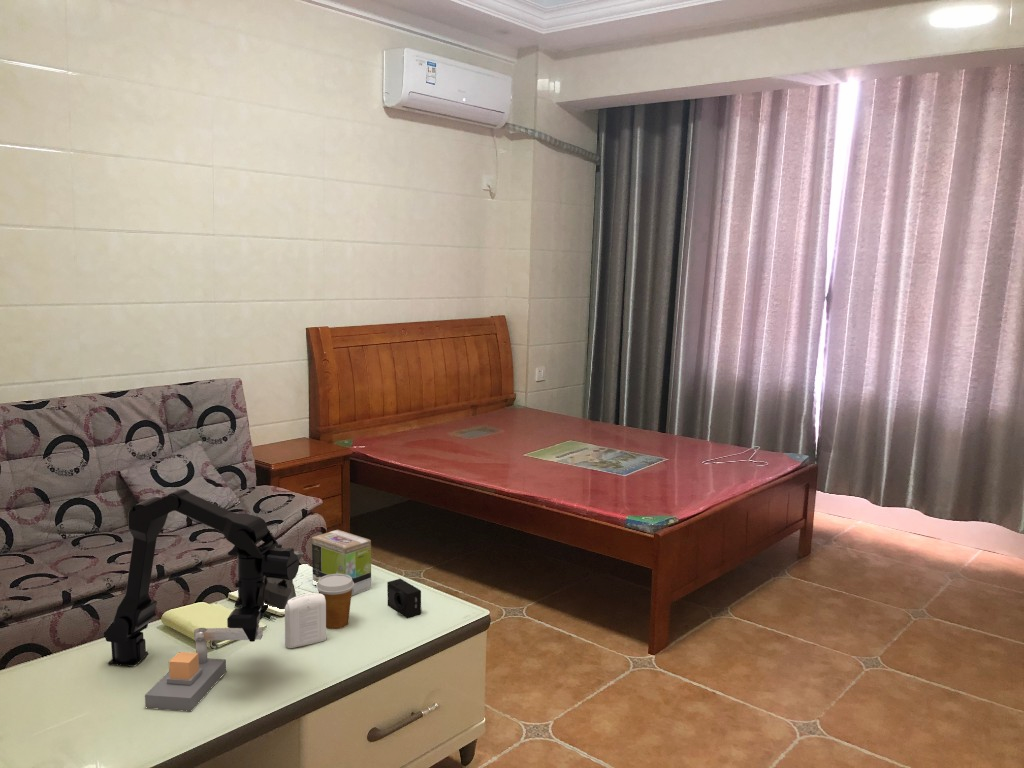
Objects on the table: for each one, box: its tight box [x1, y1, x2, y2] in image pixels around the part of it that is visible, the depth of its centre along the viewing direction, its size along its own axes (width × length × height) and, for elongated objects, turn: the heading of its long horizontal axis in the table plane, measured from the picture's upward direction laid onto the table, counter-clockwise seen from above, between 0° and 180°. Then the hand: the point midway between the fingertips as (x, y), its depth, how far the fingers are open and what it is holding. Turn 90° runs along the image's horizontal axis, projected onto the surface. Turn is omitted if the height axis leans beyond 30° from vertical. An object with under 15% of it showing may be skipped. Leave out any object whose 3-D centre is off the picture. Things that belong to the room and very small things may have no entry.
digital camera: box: [386, 578, 422, 619], centre depth 225 cm, size 10×5×7 cm, turn 39°
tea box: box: [311, 529, 372, 597], centre depth 240 cm, size 15×10×15 cm
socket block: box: [144, 640, 227, 712], centre depth 183 cm, size 10×17×8 cm, turn 174°
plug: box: [167, 651, 203, 685], centre depth 182 cm, size 5×5×8 cm
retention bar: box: [193, 626, 264, 642], centre depth 190 cm, size 3×15×2 cm, turn 95°
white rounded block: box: [284, 592, 327, 649], centre depth 206 cm, size 10×4×12 cm, turn 123°
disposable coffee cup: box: [315, 574, 354, 630], centre depth 216 cm, size 10×10×12 cm
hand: (252, 641), depth 188 cm, fingers closed
